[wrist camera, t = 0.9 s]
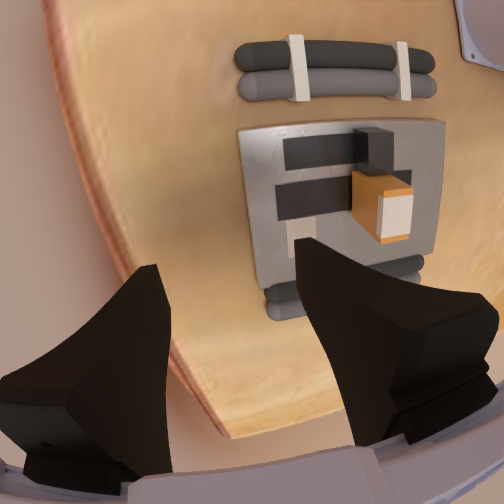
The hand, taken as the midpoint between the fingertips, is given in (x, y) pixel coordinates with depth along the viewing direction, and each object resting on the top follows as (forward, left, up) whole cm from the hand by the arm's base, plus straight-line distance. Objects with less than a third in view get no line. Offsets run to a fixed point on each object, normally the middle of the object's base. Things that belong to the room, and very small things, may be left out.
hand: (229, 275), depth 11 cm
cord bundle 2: (-9, +9, -10) cm, 16 cm away
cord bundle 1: (-9, -7, -10) cm, 15 cm away
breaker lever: (-9, +1, -8) cm, 13 cm away
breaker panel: (-9, +2, -10) cm, 14 cm away
